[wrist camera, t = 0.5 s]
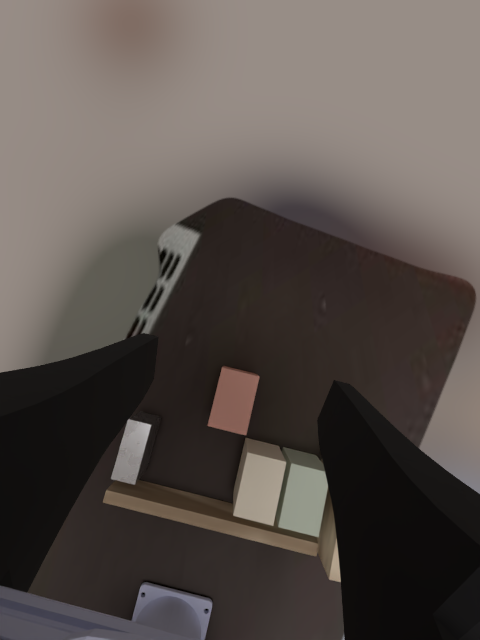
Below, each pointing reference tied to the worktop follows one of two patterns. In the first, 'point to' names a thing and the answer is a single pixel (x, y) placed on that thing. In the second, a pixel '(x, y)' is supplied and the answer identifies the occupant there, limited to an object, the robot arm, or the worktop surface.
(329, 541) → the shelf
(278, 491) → the cream rectangular block
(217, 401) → the pink rectangular block
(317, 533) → the pale green block
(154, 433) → the grey rectangular block
